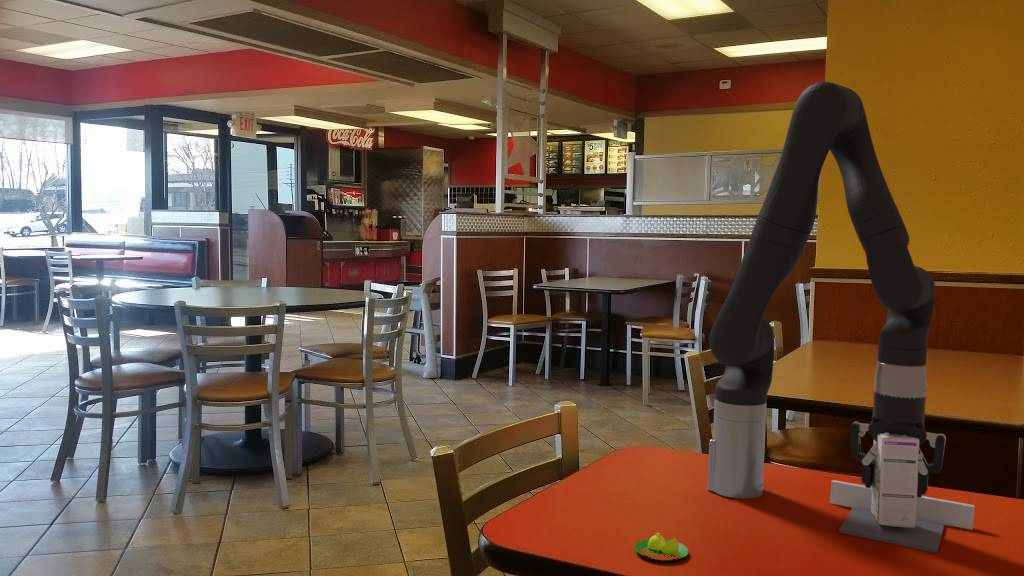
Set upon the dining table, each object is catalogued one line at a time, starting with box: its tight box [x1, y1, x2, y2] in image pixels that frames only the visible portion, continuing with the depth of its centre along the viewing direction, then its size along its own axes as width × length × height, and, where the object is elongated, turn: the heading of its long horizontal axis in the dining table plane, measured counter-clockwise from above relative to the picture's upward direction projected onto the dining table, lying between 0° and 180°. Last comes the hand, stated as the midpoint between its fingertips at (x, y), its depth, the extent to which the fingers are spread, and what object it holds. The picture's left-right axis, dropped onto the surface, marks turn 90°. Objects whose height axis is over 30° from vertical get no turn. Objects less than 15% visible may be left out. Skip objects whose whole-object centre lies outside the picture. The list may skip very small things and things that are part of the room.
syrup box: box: [870, 433, 920, 528], centre depth 128 cm, size 6×6×14 cm
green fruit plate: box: [634, 532, 689, 562], centre depth 120 cm, size 8×8×3 cm
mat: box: [838, 507, 945, 554], centre depth 129 cm, size 14×12×1 cm
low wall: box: [829, 479, 975, 531], centre depth 136 cm, size 22×1×4 cm, turn 57°
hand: (893, 491), depth 129 cm, fingers closed on syrup box, 7 cm apart
